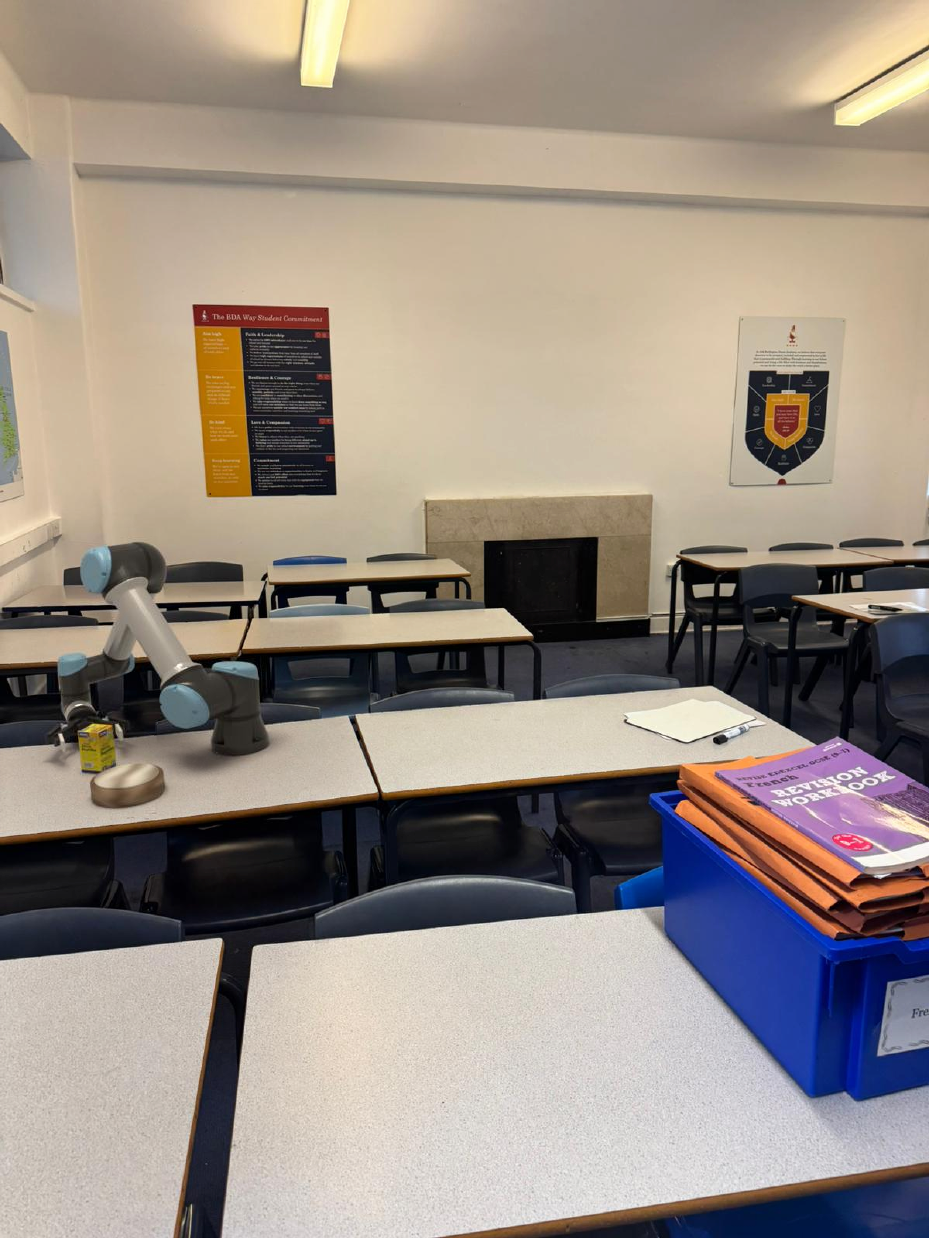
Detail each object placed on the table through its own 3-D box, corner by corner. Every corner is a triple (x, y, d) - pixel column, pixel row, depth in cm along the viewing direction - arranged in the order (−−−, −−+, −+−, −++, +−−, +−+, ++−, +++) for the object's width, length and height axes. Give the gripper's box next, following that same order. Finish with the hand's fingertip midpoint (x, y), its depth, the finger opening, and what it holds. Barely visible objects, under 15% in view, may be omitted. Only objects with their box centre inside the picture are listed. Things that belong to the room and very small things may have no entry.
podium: (169, 776, 200) (167, 759, 199) (159, 804, 185) (157, 785, 184) (100, 782, 197) (98, 764, 196) (84, 810, 181) (82, 792, 180)
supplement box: (102, 774, 201) (98, 732, 199) (81, 772, 203) (76, 731, 200) (117, 765, 207) (113, 724, 205) (96, 763, 208) (92, 723, 206)
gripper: (130, 722, 231) (145, 745, 213) (32, 739, 218) (39, 765, 201) (128, 697, 229) (143, 718, 212) (29, 712, 217) (36, 736, 199)
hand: (92, 741), depth 206 cm, fingers open, 13 cm apart
